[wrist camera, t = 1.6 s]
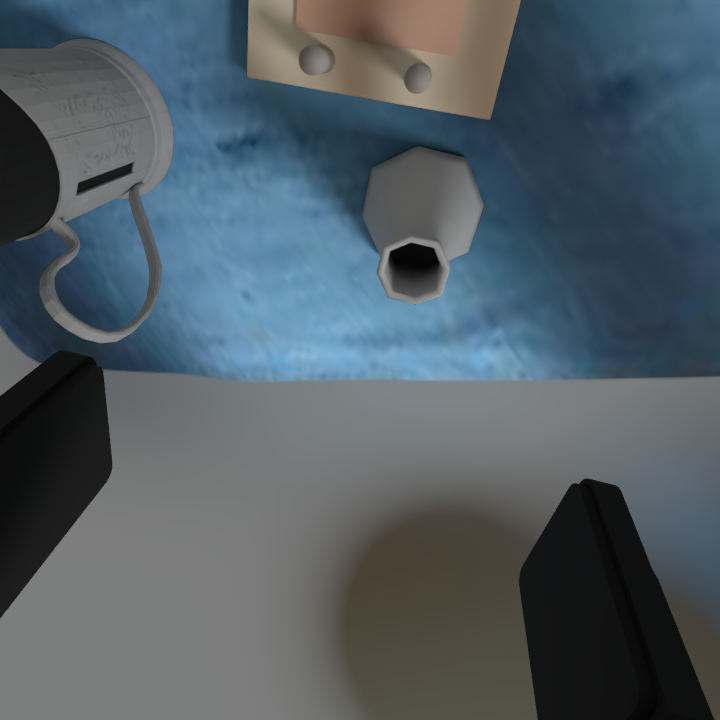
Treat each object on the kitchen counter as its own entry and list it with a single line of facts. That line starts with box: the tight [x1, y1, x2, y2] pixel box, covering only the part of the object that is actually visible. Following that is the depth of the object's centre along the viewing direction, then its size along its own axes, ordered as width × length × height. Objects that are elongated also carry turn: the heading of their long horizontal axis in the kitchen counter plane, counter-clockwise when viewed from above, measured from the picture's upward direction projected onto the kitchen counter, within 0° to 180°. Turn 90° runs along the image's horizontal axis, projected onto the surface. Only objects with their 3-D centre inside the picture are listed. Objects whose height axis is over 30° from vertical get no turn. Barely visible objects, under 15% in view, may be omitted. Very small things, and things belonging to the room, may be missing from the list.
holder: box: [0, 38, 174, 343], centre depth 25 cm, size 9×14×15 cm, turn 40°
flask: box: [362, 146, 484, 305], centre depth 26 cm, size 7×7×10 cm
